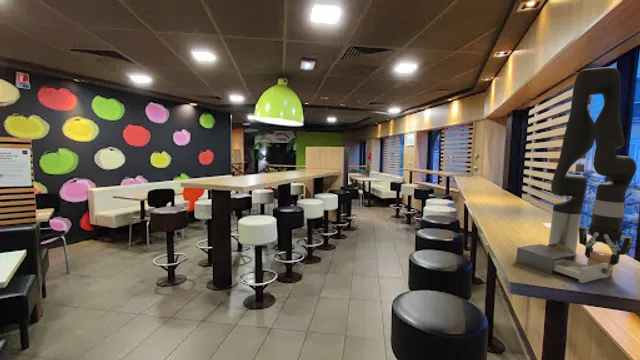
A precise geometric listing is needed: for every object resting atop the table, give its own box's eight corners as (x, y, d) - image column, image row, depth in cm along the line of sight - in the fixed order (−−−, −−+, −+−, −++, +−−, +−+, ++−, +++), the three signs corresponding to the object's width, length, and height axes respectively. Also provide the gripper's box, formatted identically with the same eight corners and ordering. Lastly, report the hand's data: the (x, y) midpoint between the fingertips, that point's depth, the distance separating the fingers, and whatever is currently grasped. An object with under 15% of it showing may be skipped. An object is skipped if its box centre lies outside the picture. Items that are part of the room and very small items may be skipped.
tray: (564, 263, 108) (566, 251, 108) (609, 278, 96) (611, 264, 96) (541, 268, 103) (542, 255, 102) (586, 284, 91) (588, 270, 90)
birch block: (593, 270, 105) (595, 257, 104) (611, 276, 100) (613, 262, 100) (586, 272, 103) (587, 258, 102) (604, 278, 98) (606, 264, 98)
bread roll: (558, 272, 111) (571, 257, 107) (533, 253, 119) (545, 238, 115) (572, 269, 115) (585, 254, 111) (548, 250, 123) (559, 236, 119)
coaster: (594, 256, 105) (595, 250, 105) (616, 262, 100) (617, 255, 99) (585, 258, 103) (586, 251, 102) (607, 264, 97) (608, 257, 97)
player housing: (538, 257, 116) (540, 243, 116) (574, 269, 105) (576, 254, 105) (515, 261, 111) (517, 247, 110) (551, 274, 100) (553, 258, 99)
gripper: (642, 218, 94) (634, 267, 96) (587, 209, 107) (581, 253, 109) (630, 219, 91) (622, 270, 93) (576, 210, 104) (570, 255, 106)
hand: (600, 261), depth 101 cm, fingers closed on coaster, 6 cm apart
